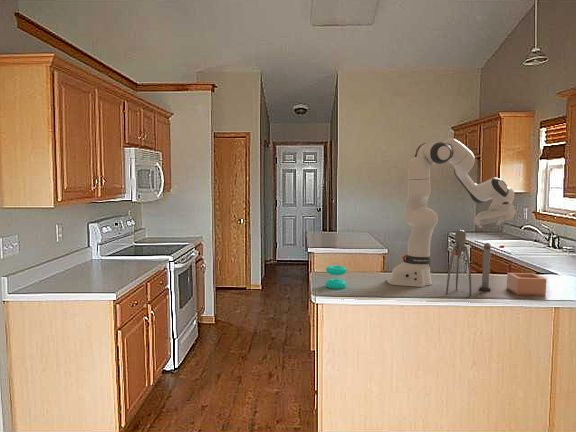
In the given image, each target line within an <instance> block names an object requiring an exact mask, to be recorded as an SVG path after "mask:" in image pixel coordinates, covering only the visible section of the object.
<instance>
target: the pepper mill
mask: <svg viewBox="0 0 576 432" xmlns="http://www.w3.org/2000/svg"><path fill="white" fill-rule="evenodd" d="M482 254H483V257H482V276H481V277H482V278H481V285H479V288H478V289H479V290H478V291H479V292H480V291H481V292H491V291H492V287H491V285H490V283H489V282H490V267H491V266H490V265H491V243H489V242H485V243H484V244H483V253H482Z"/></svg>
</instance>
